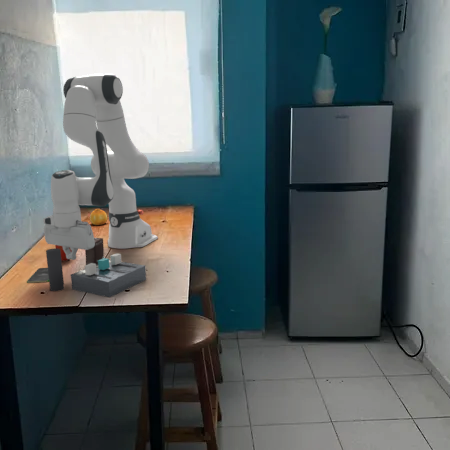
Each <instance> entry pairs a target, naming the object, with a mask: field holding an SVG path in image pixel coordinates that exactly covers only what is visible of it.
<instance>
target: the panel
mask: <svg viewBox="0 0 450 450" xmlns="http://www.w3.org/2000/svg"><path fill="white" fill-rule="evenodd" d="M96 269H97V273H95V274H93V275H85V268H84V269H82V270H78V271H76V272H74V273H72V274H70V280H71V283H70V284H71V290H73V291H79V292H82V293H83V292H84V293H87V294H92V295H96V296H97V295H98V296H102V297H107V298H111V297H113V296H115V295H117V294H120V293H122V292H124V291H126V290H128V289H130V288H132V287H134V286H137V285H138V284H140V283H142V282H144V281H147V271H146V269H147V268H146V265H145V264H138V263H133V262H128V261H127V262H126V261H121V263H119V264H117V265H113V264H111V259H109V268H107V269H105V270H100V269H99V268H98V264H97V265H96Z"/></svg>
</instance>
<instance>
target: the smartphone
mask: <svg viewBox="0 0 450 450" xmlns="http://www.w3.org/2000/svg"><path fill="white" fill-rule="evenodd" d="M48 282H49V275H48V267H40V268H37V270H36V271H35V272H33V273H32V275H31V276H30V277H29V278H28V279H27V280H26V283H27V284H34V283H37V284H39V283H48Z"/></svg>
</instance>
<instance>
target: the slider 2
mask: <svg viewBox="0 0 450 450" xmlns="http://www.w3.org/2000/svg"><path fill="white" fill-rule="evenodd" d="M109 259H110V260H111V264H113V265H117V264H119V263H121V262H122V254H121V253H118V252H117V253H114V254H111V255H110V258H109Z"/></svg>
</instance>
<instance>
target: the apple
mask: <svg viewBox="0 0 450 450" xmlns="http://www.w3.org/2000/svg"><path fill="white" fill-rule="evenodd" d="M55 248H58V249H60V251H61V261H62V262H66V261H69V260H70V259H67V258H66V254H65V252H64V250H63V246H59V245H55ZM69 249H70V248H69ZM70 251H71V252H72V250H71V249H70Z"/></svg>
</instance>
